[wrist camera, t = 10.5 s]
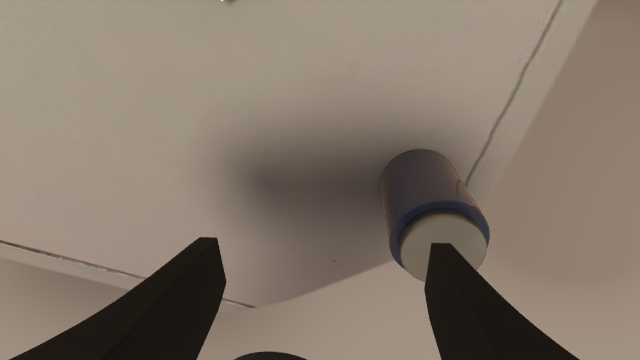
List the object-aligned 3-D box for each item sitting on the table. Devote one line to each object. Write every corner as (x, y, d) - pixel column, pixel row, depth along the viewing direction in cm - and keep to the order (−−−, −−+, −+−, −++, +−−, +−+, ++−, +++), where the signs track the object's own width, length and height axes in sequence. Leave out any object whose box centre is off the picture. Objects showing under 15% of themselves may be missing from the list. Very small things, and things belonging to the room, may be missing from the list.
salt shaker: (449, 215, 21) (486, 292, 16) (378, 213, 22) (388, 289, 16) (461, 149, 19) (507, 211, 14) (381, 149, 20) (395, 209, 14)
